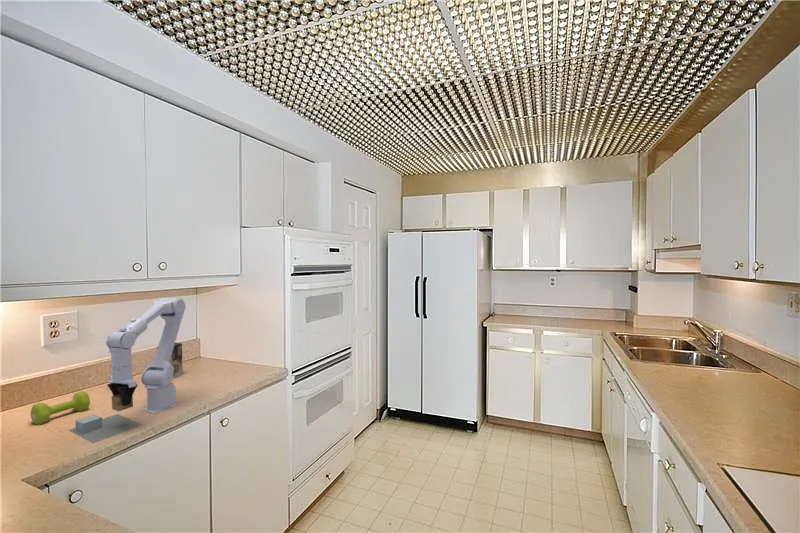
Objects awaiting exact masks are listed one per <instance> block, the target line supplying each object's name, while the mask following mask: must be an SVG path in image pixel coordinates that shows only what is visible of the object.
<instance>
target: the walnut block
mask: <svg viewBox="0 0 800 533" xmlns="http://www.w3.org/2000/svg"><path fill="white" fill-rule="evenodd" d="M133 396H134V395H133ZM133 396H132V400H131V403H130V404H129V405H126V406H123V404H122V400H121V395H120V394H117V395H114V396H113V395H112V396H111V409H112V410H114V411H117V412H122V411H124V410H127V409H130V408H131V409H132V408H134V401H133V398H134V397H133Z"/></svg>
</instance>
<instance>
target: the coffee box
mask: <svg viewBox="0 0 800 533" xmlns="http://www.w3.org/2000/svg"><path fill="white" fill-rule="evenodd" d="M157 349H158V346H156V350H157ZM169 363H170V364H171V365H172V366H173V367H174V370H173V379H174V378H177V377H180V376H182V375H184V373H183V372H184V371H183V366H184V365H183V344H182V343H181V342H175V344H174V348H173V351H172V354H171V358H170V361H169ZM160 370H164V369H160Z"/></svg>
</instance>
